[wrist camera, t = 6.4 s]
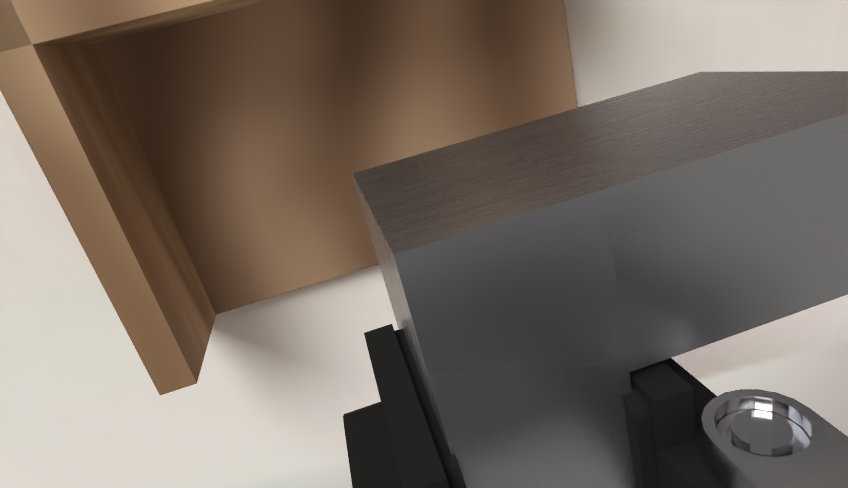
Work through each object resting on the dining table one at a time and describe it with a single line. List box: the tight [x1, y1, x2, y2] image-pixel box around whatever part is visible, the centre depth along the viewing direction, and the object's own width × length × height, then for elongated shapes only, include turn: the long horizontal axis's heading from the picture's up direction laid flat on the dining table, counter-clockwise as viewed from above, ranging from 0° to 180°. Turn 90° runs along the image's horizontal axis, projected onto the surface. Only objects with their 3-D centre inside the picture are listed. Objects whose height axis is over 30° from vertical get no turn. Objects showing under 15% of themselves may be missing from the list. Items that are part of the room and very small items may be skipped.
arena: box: [0, 0, 577, 395], centre depth 19 cm, size 18×12×6 cm, turn 104°
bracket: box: [352, 71, 848, 488], centre depth 10 cm, size 8×7×5 cm
